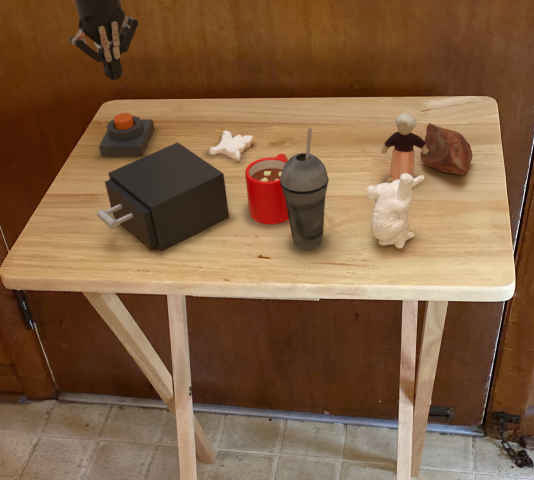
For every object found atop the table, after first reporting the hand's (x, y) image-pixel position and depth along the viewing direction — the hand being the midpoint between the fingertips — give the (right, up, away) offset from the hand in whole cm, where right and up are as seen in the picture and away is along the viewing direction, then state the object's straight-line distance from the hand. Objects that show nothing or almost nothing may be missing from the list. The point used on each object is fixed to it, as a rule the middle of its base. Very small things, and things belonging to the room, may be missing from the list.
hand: (114, 78), depth 148 cm
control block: (+1, -10, +9) cm, 13 cm away
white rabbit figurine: (+47, -32, -20) cm, 60 cm away
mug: (+29, -24, -10) cm, 39 cm away
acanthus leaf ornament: (+21, -12, +4) cm, 25 cm away
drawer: (+9, -28, -13) cm, 32 cm away
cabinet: (+12, -27, -11) cm, 31 cm away
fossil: (+59, -17, -6) cm, 62 cm away
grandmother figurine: (+51, -20, -8) cm, 55 cm away
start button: (+1, -7, +6) cm, 10 cm away
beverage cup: (+34, -32, -18) cm, 50 cm away
